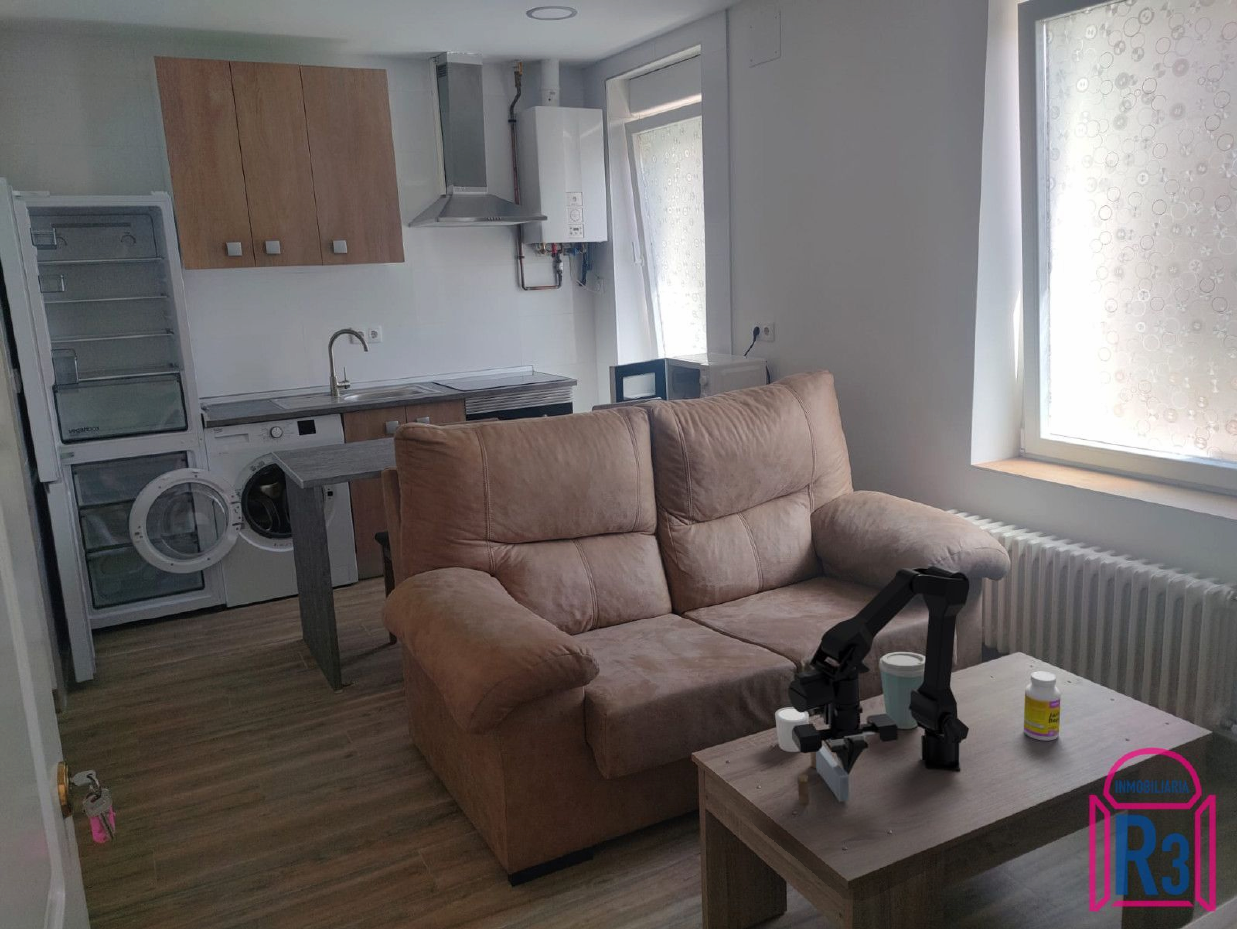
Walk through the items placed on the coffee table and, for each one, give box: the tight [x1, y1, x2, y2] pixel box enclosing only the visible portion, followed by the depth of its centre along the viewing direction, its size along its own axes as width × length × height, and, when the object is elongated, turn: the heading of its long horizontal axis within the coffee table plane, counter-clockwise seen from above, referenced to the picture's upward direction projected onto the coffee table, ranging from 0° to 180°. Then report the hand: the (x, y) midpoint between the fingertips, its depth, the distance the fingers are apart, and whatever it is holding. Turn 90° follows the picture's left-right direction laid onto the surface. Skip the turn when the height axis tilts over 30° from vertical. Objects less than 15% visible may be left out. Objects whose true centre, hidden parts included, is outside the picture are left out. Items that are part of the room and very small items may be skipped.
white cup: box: [774, 706, 810, 753], centre depth 191 cm, size 7×7×7 cm
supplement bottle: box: [1023, 670, 1062, 742], centre depth 189 cm, size 7×7×13 cm
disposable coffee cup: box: [878, 651, 925, 730], centre depth 197 cm, size 11×11×15 cm
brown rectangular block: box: [797, 774, 810, 805], centre depth 170 cm, size 2×2×5 cm
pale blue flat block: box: [809, 745, 850, 803], centre depth 176 cm, size 15×2×6 cm, turn 9°
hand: (845, 774), depth 173 cm, fingers closed
